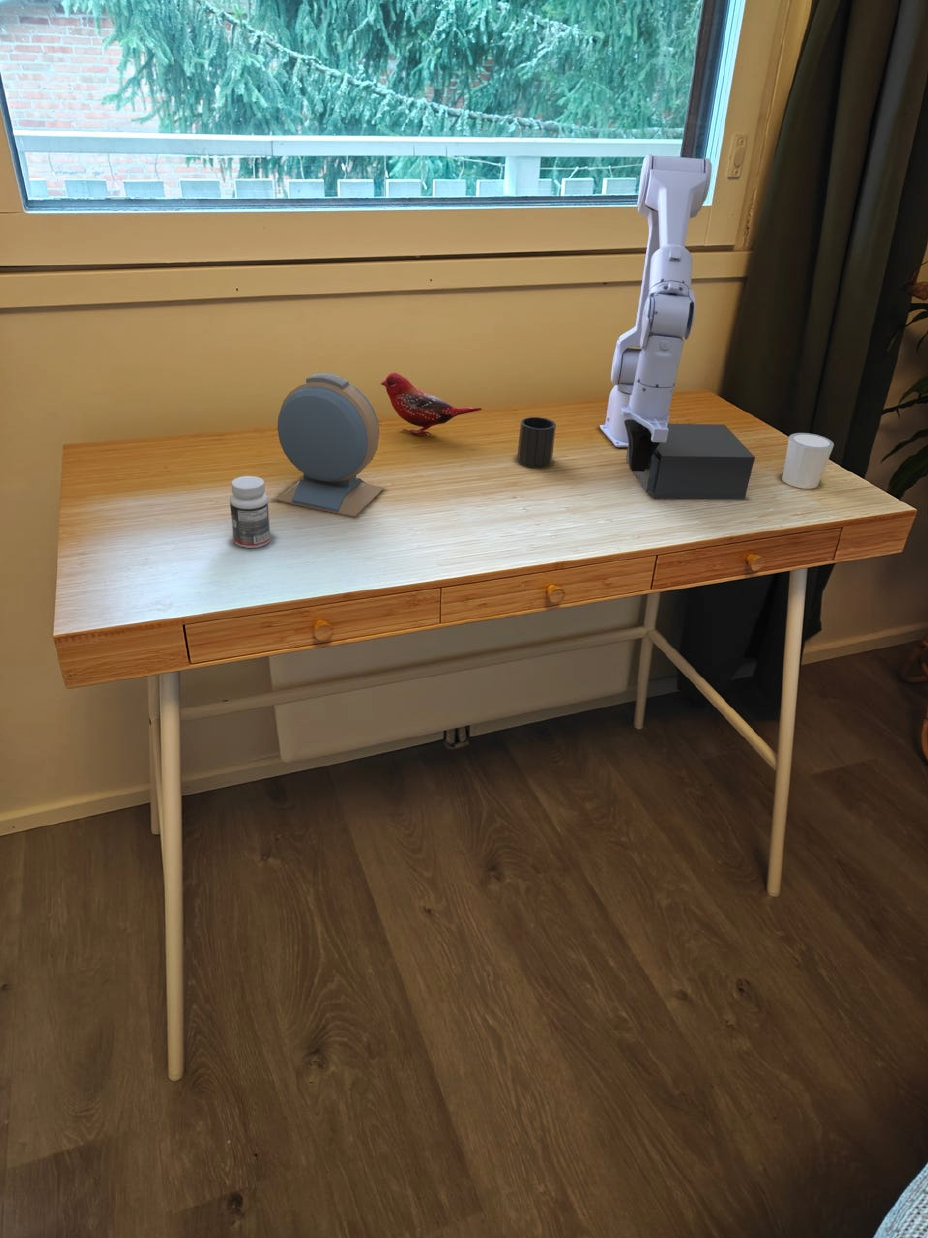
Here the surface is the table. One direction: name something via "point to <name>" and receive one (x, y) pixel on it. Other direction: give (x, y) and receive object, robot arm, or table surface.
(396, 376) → the decorative bird figurine
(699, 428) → the dark grey cabinet
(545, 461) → the dark grey faceted cup
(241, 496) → the pill bottle
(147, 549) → the table surface
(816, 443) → the white cylinder
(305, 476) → the alarm clock
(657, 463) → the drawer
